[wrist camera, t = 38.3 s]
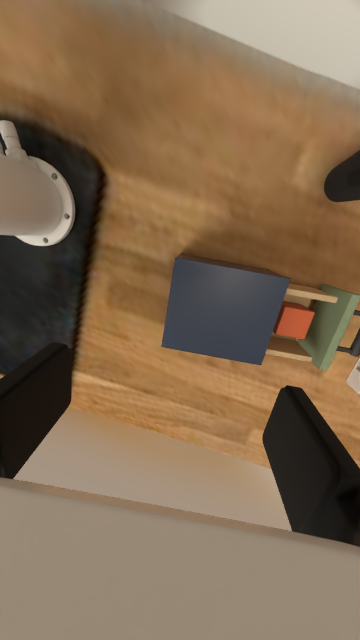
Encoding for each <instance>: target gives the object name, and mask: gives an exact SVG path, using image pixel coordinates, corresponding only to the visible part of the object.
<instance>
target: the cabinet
mask: <svg viewBox="0 0 360 640" xmlns="http://www.w3.org/2000/svg"><path fill="white" fill-rule="evenodd" d="M289 282H290V278H288V277H285V276H283V275H280V274H278V273H275V272H273V271H270V270H267V269H262V268H256V267H251V266H245V265H240V264H234V263H229V262H223V261H218V260H212V259H207V258H201V257H196V256H190V255H185V254H180V255H178V256H177V257H176V258H175V264H174V270H173V277H172V283H171V289H170V296H169V302H168V308H167V315H166V321H165V327H164V334H163V340H162V346H161V347H164V348H170V349H175V350H181V351H186V352H192V353H197V354H202V355H208V356H213V357H219V358H224V359H230V360H235V361H240V362H246V363H251V364H257V365H261V364H262V361H263V358H264V356H265V353H266V350H267V347H268V344H269V341H270V338H271V335H272V332H273V329H274V326H275V323H276V320H277V317H278V314H279V311H280V309H281V306H282V303H283V300H284V297H285V294H286V291H287V288H288V285H289Z"/></svg>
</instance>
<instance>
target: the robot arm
mask: <svg viewBox="0 0 360 640" xmlns="http://www.w3.org/2000/svg"><path fill="white" fill-rule="evenodd" d="M0 132H1V135H2V138H3V140H4V141H5V144H6V147H7V150H5V153H6V156H5V155H4V152H3V148H2V145H1V142H0V235H15V236H16V237H17V238H19V239H20V240H22V241H24V242H26V243H29V244H31V245H36V246H49V245H54V244H56V243H59V242H60V241H62V240H63V239H64V238H65V237H66V236H67V235H68V234H69V232H70V230H71V229H72V226H73V223H74V219H75V202H74V198H73V194H72V192H71V189H70V187H69V185H68V183H67V182H66V180H65V179H64V177H63V176H62V175H61V174H60V172H59V171H57V170H56V169H55V168H54V167H53V166H51V165H50V164H48V163H47V162H45V161H43V160H41V159H39V158H35V157H32V156H27V154H26V151H24V150H23V149H22V148H21V145H20V142H19V138H18V135H17V132H16V129H15V126H14V124H13V123H12V122H10V121H4V120H2V121H0ZM69 216H70V218H69ZM71 373H72V351H71V349H69V348H68V345H66V344H61V343H55V342H52V343H51V344H49V345H48V346H46V347H45V348H44V349H42V350H41V351H39V352H38V353H36V354H35V355H34V356H32V357H31V358H29V359H28V360H27V361H25V362H24V363H22V364H21V365H20V366H18V367H17V368H15V369H14V370H12V371H11V372H10V373H8V374H7V375H5V376H4V377H3V378H1V379H0V640H360V468H359V467H358V466H357V464H356V463H355V461H354V460H353V459H352V457H351V456H350V454H349V453H348V452H347V450H346V449H345V447H344V446H343V445H342V443H341V442H340V441H339V439H338V438H337V436H336V435H335V434H334V432H333V431H332V429H331V428H330V427H329V425H328V424H327V423H326V421H325V420H324V418H323V417H322V416H321V414H320V413H319V411H318V410H317V409H316V407H315V406H314V404H313V403H312V402H311V400H310V399H309V398H308V396H307V395H306V393H305V392H304V391H303V389H302V388H299V387H293V386H288V385H287V386H286V387H285V388H281V390H280V392H279V394H278V397H277V399H276V402H275V405H274V407H273V410H272V412H271V415H270V417H269V420H268V422H267V425H266V428H265V430H264V433H263V444H264V447H265V450H266V453H267V456H268V459H269V462H270V465H271V468H272V471H273V474H274V477H275V480H276V483H277V486H278V489H279V492H280V495H281V498H282V501H283V504H284V507H285V510H286V513H287V516H288V519H289V522H290V525H291V528H292V531H293V532H292V531H287V530H282V529H277V528H272V527H266V526H261V525H256V524H251V523H246V522H241V521H236V520H231V519H226V518H220V517H215V516H210V515H205V514H200V513H194V512H189V511H183V510H178V509H173V508H168V507H163V506H157V505H152V504H147V503H141V502H135V501H131V500H125V499H120V498H114V497H109V496H103V495H98V494H93V493H87V492H81V491H76V490H70V489H65V488H60V487H54V486H49V485H42V484H37V483H32V482H26V481H19V480H14V479H13V478H14V477H15V476H16V474H17V473H18V472H19V470H20V469H21V468H22V466H23V465H24V464H25V462H26V461H27V460H28V459H29V457H30V456H31V455H32V453H33V452H34V451H35V449H36V448H37V447H38V446H39V444H40V443H41V442H42V440H43V439H44V438H45V436H46V435H47V434H48V432H49V431H50V430H51V429H52V427H53V426H54V424H55V423H56V422H57V421H58V419H59V418H60V417H61V416H62V414H63V413H64V412H65V410H66V409H67V408H68V406H69V405H70V402H71Z"/></svg>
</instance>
